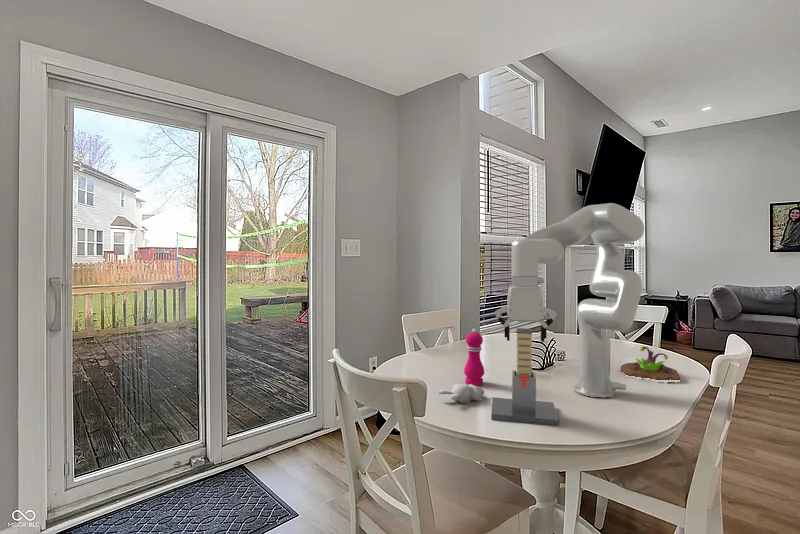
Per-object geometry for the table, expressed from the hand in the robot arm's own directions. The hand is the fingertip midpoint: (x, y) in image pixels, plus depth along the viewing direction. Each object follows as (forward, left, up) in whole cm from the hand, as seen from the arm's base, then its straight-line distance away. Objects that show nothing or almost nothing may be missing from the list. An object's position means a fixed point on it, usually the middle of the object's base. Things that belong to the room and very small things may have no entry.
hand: (525, 340), depth 123 cm
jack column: (0, 0, -14) cm, 14 cm away
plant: (-48, -52, -22) cm, 74 cm away
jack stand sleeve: (0, 0, -22) cm, 22 cm away
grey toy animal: (+18, -6, -22) cm, 29 cm away
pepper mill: (+16, -25, -22) cm, 37 cm away
